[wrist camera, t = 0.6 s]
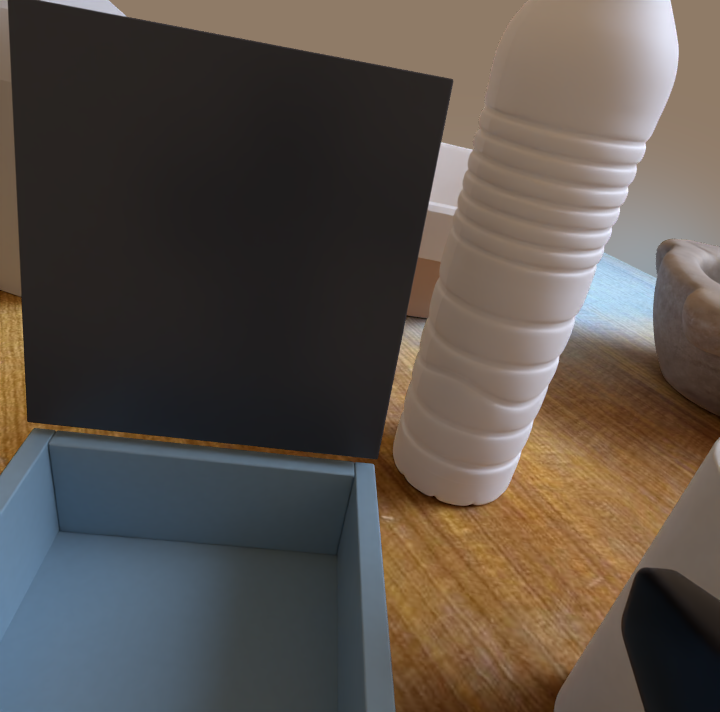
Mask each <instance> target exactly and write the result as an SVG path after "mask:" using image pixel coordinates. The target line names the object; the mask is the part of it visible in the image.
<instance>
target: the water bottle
mask: <svg viewBox="0 0 720 712" xmlns="http://www.w3.org/2000/svg"><path fill="white" fill-rule="evenodd" d="M678 54H679V48H678V39H677V33H676V27H675V22H674V17H673V12H672V7H671V1H670V0H528V1H527V2H526V3H525V4H524V5H523V6H522V7H521V8H520V9H519V11H518V12H517V13H516V14H515V15H514V17H513V18H512V19H511V21H510V23H509V24H508V26H507V27H506V29H505V31H504V33H503V35H502V37H501V39H500V41H499V44H498V46H497V49H496V53H495V56H494V59H493V63H492V67H491V71H490V75H489V81H488V85H487V89H486V94H485V100H484V101H485V108H483V109H482V111H481V114H480V117H479V126H480V128H479V129H478V130H477V131H476V133H475V136H474V140H473V146H474V150H472V151H471V153H470V155H469V159H468V168H469V169H468V170H467V171H466V172H465V175H464V178H463V183H462V185H463V189H462V190H461V192H460V194H459V197H458V202H457V204H458V208H457V209H456V210H455V213H454V216H453V226H452V228H451V230H450V232H449V235H448V239H447V242H446V245H445V248H444V252H443V255H442V259H441V264H440V269H439V274H440V277H439V278H438V280H437V282H436V284H435V287H434V291H433V294H432V298H431V302H430V307H429V317H428V318H427V320H426V323H425V326H424V329H423V332H422V336H421V341H420V350H419V352H418V354H417V357H416V360H415V363H414V367H413V372H412V380H411V382H410V384H409V387H408V390H407V394H406V398H405V403H404V410H403V412H402V414H401V417H400V420H399V424H398V428H397V432H396V435H395V439H394V444H393V457H394V461H395V464H396V466H397V468H398V470H399V471H400V473H402V474H404V475H405V478H406V480H407V481H408V482H409V483H410V484H411V485H412V486H413V487H415V488H416V489H417V490H419V491H420V492H422V493H424V494H426V495H428V496H435V497H436V498H437V499H438V500H440V501H442V502H445V503H449V504H453V505H460V506H467V505H470V504H472V503H473V504H474V505H483V504H486V503H489V502H492V501H494V500H495V499H497V498H498V497H499V496H500V495H501V494H502V493H504V492H505V490H506V489H507V487H508V485H509V483H510V481H511V478H512V476H513V474H514V471H515V469H516V467H517V464H518V461H519V458H520V455H521V450H522V449H523V447H524V445H525V444H526V441H527V439H528V437H529V434H530V432H531V429H532V426H533V420H534V418H535V417H536V415H537V414H538V412H539V410H540V408H541V405H542V403H543V400H544V398H545V395H546V392H547V389H548V385H549V383H550V381H551V380H552V378H553V376H554V374H555V371H556V369H557V366H558V363H559V355H560V354H561V353H562V352H563V350H564V348H565V346H566V344H567V342H568V340H569V337H570V335H571V332H572V330H573V327H574V323H575V316H576V315H577V314H578V312H579V311H580V309H581V308H582V306H583V303H584V301H585V299H586V296H587V294H588V291H589V289H590V286H591V283H592V280H593V277H594V275H595V272H596V264H598V263H599V261H600V260H601V258H602V255H603V252H604V245H605V244H606V243H607V242H608V240H609V238H610V236H611V233H612V228H611V226H613V225H614V224H615V222H616V221H617V219H618V216H619V213H620V208H619V206H620V205H622V204H623V203H624V201H625V199H626V197H627V194H628V185H629V184H631V183H632V181H633V179H634V178H635V175H636V171H637V167H636V165H637V163H638V162H640V161H641V160H642V158H643V156H644V153H645V150H646V145H645V143H646V141H647V140H648V139H649V138H650V137H651V135H652V133H653V131H654V129H655V127H656V125H657V122H658V120H659V118H660V116H661V114H662V112H663V110H664V107H665V105H666V102H667V100H668V98H669V95H670V93H671V90H672V87H673V84H674V80H675V77H676V72H677V65H678Z"/></svg>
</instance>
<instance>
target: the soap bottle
mask: <svg viewBox="0 0 720 712" xmlns="http://www.w3.org/2000/svg"><path fill="white" fill-rule="evenodd" d="M41 1H47V2H52V3H57V4H62V5H68V6H73V7H78V8H83V9H89V10H94V11H99V12H104V13H109V14H115V15H120V16H125V15H124V14H123V13H122V12H121V11H120V10H119V9H118V8H116V7H115V6H114V5H113V4H112V3H111V2H110V1H109V0H41ZM125 17H126V16H125ZM0 290H2V291H5V292H8V293H11V294H14V295H17V296H20V297H21V276H20V255H19V234H18V212H17V191H16V170H15V149H14V127H13V106H12V85H11V64H10V42H9V21H8V0H0Z"/></svg>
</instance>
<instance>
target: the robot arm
mask: <svg viewBox="0 0 720 712" xmlns="http://www.w3.org/2000/svg"><path fill="white" fill-rule="evenodd" d="M621 631H622V637H623V641H624V644H625V647H626V651H627V654H628V657H629V661H630V664H631V667H632V671H633V674H634V677H635V681H636V684H637V687H638V691H639V694H640V697H641V701H642V704H643V707H644V711H645V712H720V600H719V599H717V598H716V597H714V596H713V595H711V594H710V593H708V592H707V591H705V590H704V589H702V588H701V587H699V586H698V585H697V584H695V583H694V582H692V581H691V580H689V579H688V578H686V577H685V576H683V575H682V574H680V573H679V572H677V571H675V570H671V569H662V568H650V567H644V568H641V569H640V570H639V571H638V572H637V573H636V575H635V577H634V580H633V583H632V586H631V589H630V592H629V596H628V599H627V602H626V605H625V608H624V611H623V614H622V619H621Z"/></svg>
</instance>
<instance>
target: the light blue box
mask: <svg viewBox="0 0 720 712" xmlns="http://www.w3.org/2000/svg"><path fill="white" fill-rule="evenodd" d="M0 712H396V710H395V698H394V687H393V675H392V664H391V652H390V641H389V629H388V617H387V606H386V594H385V583H384V571H383V560H382V548H381V536H380V525H379V513H378V502H377V490H376V479H375V467H374V464H370V463H360V462H355V463H354V462H351V461H341V460H332V459H322V458H313V457H303V456H294V455H284V454H275V453H266V452H256V451H247V450H237V449H228V448H218V447H209V446H199V445H190V444H181V443H171V442H162V441H152V440H143V439H133V438H124V437H114V436H105V435H96V434H86V433H77V432H67V431H55V430H49V429H39V428H34V429H33V430H32V431H31V433H30V434H29V435H28V437H27V438H26V440H25V441H24V442H23V444H22V445H21V447H20V448H19V449H18V451H17V452H16V454H15V455H14V456H13V458H12V459H11V461H10V462H9V463H8V465H7V466H6V468H5V469H4V470H3V472H2V473H1V475H0Z"/></svg>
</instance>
